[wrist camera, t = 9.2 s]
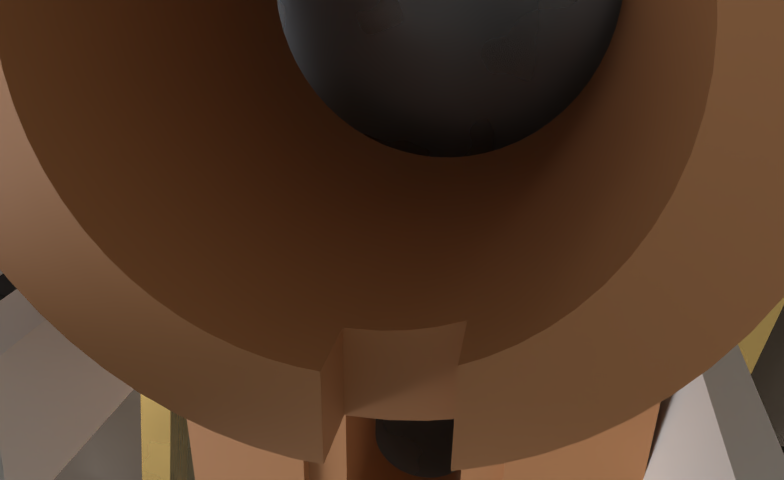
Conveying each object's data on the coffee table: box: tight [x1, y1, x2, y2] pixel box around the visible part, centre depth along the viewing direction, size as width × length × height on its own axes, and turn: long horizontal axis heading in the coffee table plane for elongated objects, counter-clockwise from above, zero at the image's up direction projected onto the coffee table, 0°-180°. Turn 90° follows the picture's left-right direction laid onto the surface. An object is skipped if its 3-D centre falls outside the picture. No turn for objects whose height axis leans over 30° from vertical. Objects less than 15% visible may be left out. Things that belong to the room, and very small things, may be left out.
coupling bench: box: [141, 0, 784, 480], centre depth 13 cm, size 29×13×6 cm, turn 171°
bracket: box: [0, 0, 784, 480], centre depth 11 cm, size 18×8×7 cm, turn 179°
